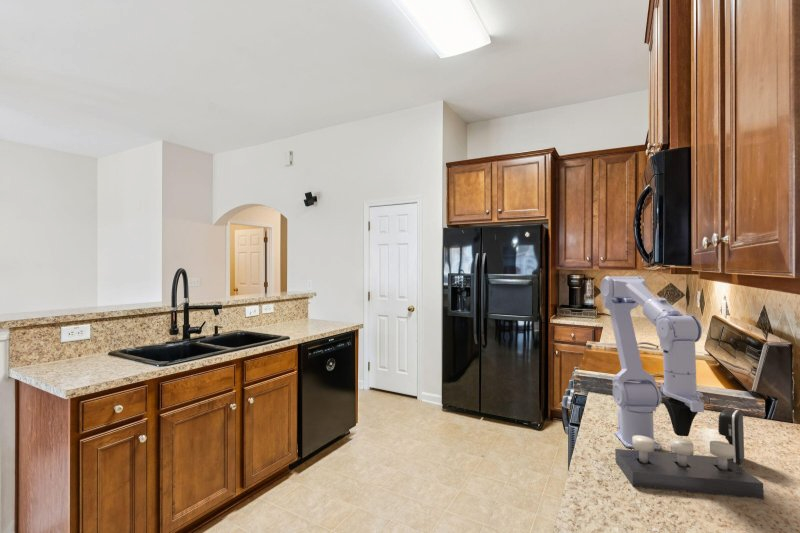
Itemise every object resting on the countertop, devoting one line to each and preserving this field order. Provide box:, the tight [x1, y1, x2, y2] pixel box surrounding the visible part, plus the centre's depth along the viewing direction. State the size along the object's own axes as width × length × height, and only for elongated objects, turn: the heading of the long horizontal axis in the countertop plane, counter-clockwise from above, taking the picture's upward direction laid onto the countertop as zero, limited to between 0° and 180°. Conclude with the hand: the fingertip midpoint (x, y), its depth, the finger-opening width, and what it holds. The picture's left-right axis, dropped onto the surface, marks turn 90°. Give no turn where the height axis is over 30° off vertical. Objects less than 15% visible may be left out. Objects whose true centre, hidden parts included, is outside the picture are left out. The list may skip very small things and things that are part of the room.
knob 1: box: [632, 435, 655, 463], centre depth 85 cm, size 4×4×5 cm
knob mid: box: [669, 437, 695, 467], centre depth 83 cm, size 4×4×5 cm
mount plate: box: [614, 448, 765, 500], centre depth 83 cm, size 11×23×3 cm, turn 78°
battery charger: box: [717, 408, 745, 466], centre depth 92 cm, size 7×4×11 cm, turn 131°
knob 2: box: [709, 440, 735, 470], centre depth 82 cm, size 4×4×5 cm
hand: (681, 434), depth 83 cm, fingers closed
